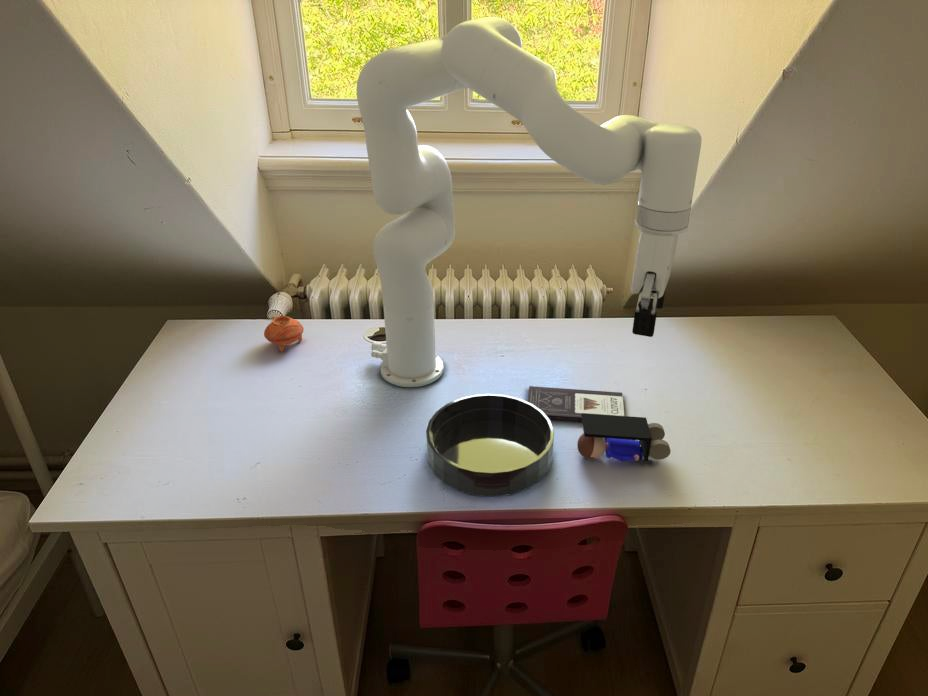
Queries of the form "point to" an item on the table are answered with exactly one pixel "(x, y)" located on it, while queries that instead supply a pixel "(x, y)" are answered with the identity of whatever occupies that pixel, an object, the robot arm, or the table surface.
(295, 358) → the table surface
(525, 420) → the bowl
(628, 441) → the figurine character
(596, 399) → the chocolate bar
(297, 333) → the pot
